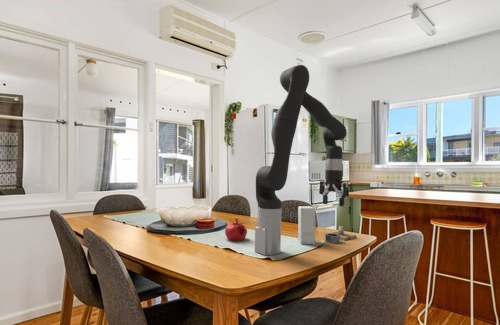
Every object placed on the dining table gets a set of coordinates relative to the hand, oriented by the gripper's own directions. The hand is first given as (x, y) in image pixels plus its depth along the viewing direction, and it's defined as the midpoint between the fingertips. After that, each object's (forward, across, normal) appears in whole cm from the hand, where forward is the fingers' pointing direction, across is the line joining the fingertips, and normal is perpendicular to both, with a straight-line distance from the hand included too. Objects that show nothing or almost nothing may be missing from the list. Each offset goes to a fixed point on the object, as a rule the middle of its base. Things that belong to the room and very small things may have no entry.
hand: (333, 205), depth 139 cm
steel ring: (+16, 0, 0) cm, 16 cm away
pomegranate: (+16, -27, -34) cm, 47 cm away
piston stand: (+16, -3, +11) cm, 20 cm away
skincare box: (+16, -6, -11) cm, 21 cm away
